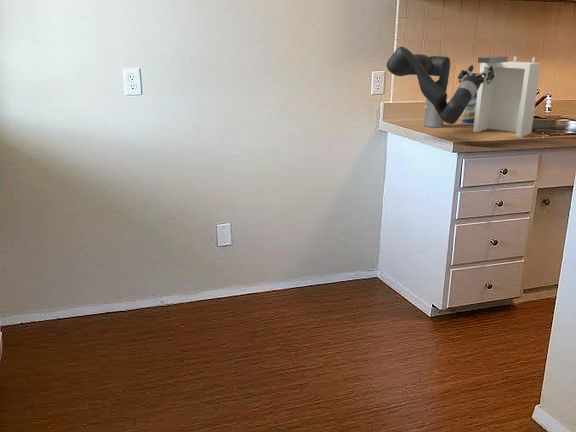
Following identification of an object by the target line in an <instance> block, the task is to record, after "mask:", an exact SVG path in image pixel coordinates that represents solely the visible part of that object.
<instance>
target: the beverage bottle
mask: <svg viewBox="0 0 576 432" xmlns="http://www.w3.org/2000/svg"><path fill="white" fill-rule="evenodd" d="M477 91H478V90H477ZM476 100H477V92H476V94H475V95H474V97H473V98H472V99H471V100H470V102H469V103H468V105H467V106H466V108H465V110H464V111H463V113H462V119H461V123H462V124H463V125H469V126H474V118H475V109H476Z"/></svg>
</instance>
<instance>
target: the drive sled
mask: <svg viewBox="0 0 576 432" xmlns="http://www.w3.org/2000/svg"><path fill="white" fill-rule="evenodd" d="M508 59H509V58H508V56H503V55H500V56H499V55H495V56H482V57H481V56H479V57H477V63H478V64H479V63H480V64H481V63H496V62H506V61H508Z"/></svg>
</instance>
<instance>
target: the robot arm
mask: <svg viewBox="0 0 576 432" xmlns="http://www.w3.org/2000/svg"><path fill="white" fill-rule="evenodd" d="M385 65H386V69H387V71H389V72H390V74H392V75H393V76H397V77H405V76H413V75H415V76H417V80H418V85H419V89H420V91H421V94H422V95H423V96H424V97H425V98H426V99H425V106H424V107H425V108H424V116H423V127H430V128H443V127H444V124H445V123H446V124H447V125H448V124H449V125H453V124H456V122H457V121H458V120H459V119H460V117H461V115H463V111H464V110H465V108H466V106H467V105H468V103H469V102H470V100H471V99H472V98H473V97H474V95H475V94H476V92H477V90H478V89H479V87H480V85H481V84H482V83H483V82H487V84H490V82H491V81H492V80H493V78H494V72H493V67H492V66H490V67H489V69H488V71H486V72H482V73H480V72H479V73H476V72H473V71H474V65H473V64H471V65H469V66H468V68H467V69H462V70H461V71H460V73H459V74H458V76H457V79H458V80H457V81H458V83H460V84H459V85H458V87H457V88H456V91H455V93H454V94H453V96H452V97H451V98H450V100H449V101H448V102H447V100H448V94H447V91H448V90H447V88H448V85H449V77H450V71H451V59H450V57H449V56H444V55H443V56H441V55H440V56H439V55H432V56H428V55H426V54H421V53H416V54H414V53H412V51H410V50H409V49H408V48H406V47H404V46H398V48H397V49H395V51H394V52H393V53H392V54H391V56H390V57H389V59H387V61H386V64H385ZM472 72H473V73H472ZM486 74H488V75H486ZM482 75H483V77H482ZM433 77H438V79H437V80H436V81H435V80H434V79H433Z"/></svg>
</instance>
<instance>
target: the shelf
mask: <svg viewBox="0 0 576 432" xmlns="http://www.w3.org/2000/svg"><path fill="white" fill-rule="evenodd" d="M541 64H542V63H541V62H536V57H535V56H533V57H532V60H531V62H526V61H525V62H524V61H518V56H514V57H513V61H511V60H509V61H508V60H507V61H506V62H496V63H480V64H479V65H480V66H479V73H482V72H486V71H488V69H489V67H490V66H492V67H493V72H494V78H493V80H492V81H491V82H490V84H487V82H483V83H482V84H481V85H480V87H479V89H478V91H477V100H476V109H475V118H474V125H473V127H472V128H473V130H472V132H473V133H479V132H483V131H485V130H494V131H495V130H496V131H503V132H514V133H516V134H515V137H516V138H523V137H525V136H528V135H530V134H532V131H533V125H534V124H533V123H534V117H535V110H536V109H535V108H536V103H537V102H536V100H537V93H538V88H539V87H538V86H539V80H540V71H541ZM486 75H488V74H486ZM482 77H483V75H482ZM482 130H483V131H482Z"/></svg>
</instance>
